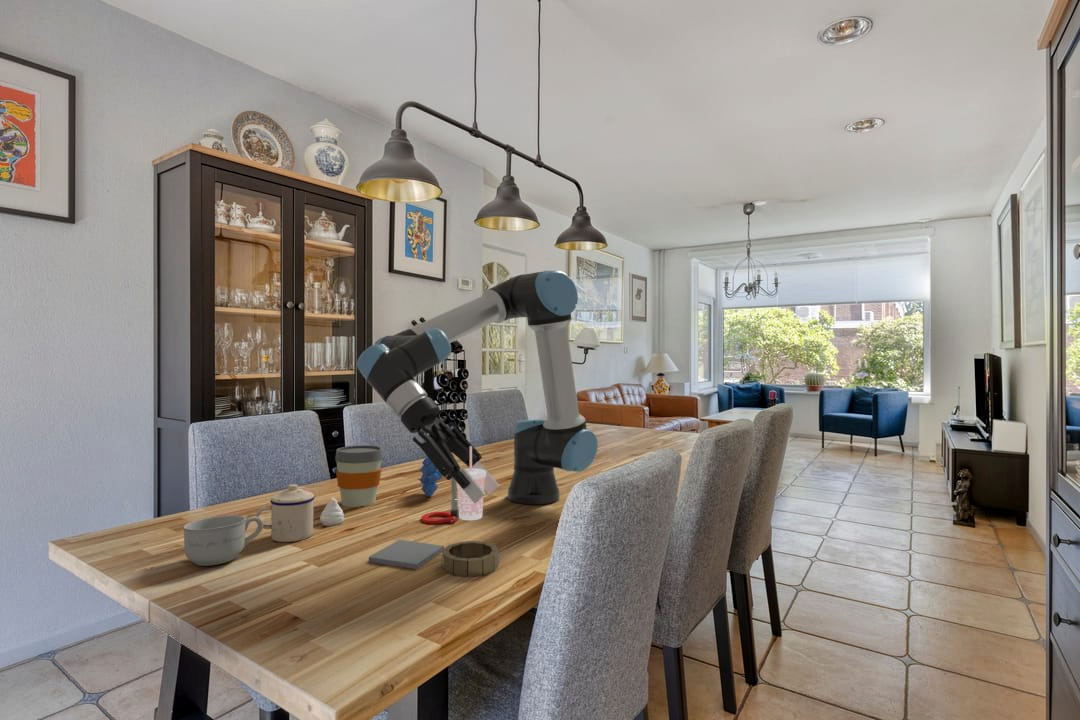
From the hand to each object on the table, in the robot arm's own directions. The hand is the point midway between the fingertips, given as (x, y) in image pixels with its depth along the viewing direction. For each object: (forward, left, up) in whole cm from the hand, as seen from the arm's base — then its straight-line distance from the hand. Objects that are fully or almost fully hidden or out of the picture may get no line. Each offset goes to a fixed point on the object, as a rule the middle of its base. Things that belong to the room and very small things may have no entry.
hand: (487, 494), depth 108 cm
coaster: (+7, -16, -15) cm, 23 cm away
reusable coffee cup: (-6, -60, -15) cm, 62 cm away
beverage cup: (+1, -3, -5) cm, 6 cm away
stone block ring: (+1, -3, -15) cm, 15 cm away
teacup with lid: (+20, -45, -15) cm, 52 cm away
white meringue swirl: (+8, -48, -15) cm, 51 cm away
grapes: (-25, -52, -15) cm, 60 cm away
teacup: (+34, -40, -15) cm, 55 cm away
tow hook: (-13, -32, -15) cm, 38 cm away
